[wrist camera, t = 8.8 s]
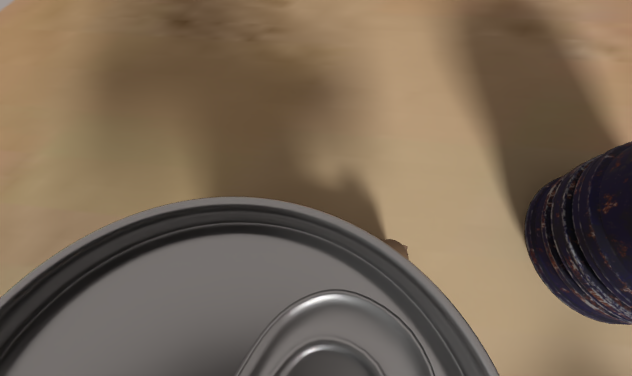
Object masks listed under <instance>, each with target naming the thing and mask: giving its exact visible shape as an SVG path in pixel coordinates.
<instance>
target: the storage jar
mask: <svg viewBox="0 0 632 376" xmlns="http://www.w3.org/2000/svg"><path fill="white" fill-rule="evenodd" d="M525 238H526V245H527V249H528V252H529V256H530V259H531V261H532V263H533V265H534V267H535V269H536V271H537V273H538V274H539V276H540V278H541V279H542V281H543V282H544V283H545V284H546V286H547V287H548V288H549V289H550V291H551V292H552V293H553V294H554V295H555V296H556V297H558V298H559V299H560V300H561V301H562V302H563V303H565V304H566V305H567V306H569V307H570V308H571V309H573V310H575V311H576V312H578V313H580V314H582V315H584V316H586V317H588V318H591V319H594V320H596V321H600V322H605V323H609V324H627V325H631V324H632V142H628V143H626V144H624V145H621V146H618V147H615V148H613V149H611V150H609V151H607V152H606V153H604V154H601V155H599V156H597V157H595V158H593V159H590V160H589V161H587V162H585V163H583V164H581V165H579V166H577V167H576V168H574V169H573V170H572V171H570V172H569V173H567V174H566V175H564V176H562V177H560V178H557V179H555V180H553V181H551V182H550V183H548V184H547V185H545V186H544V187H543V188H542V189H541V190H540V191H539V192H538V193H537V194H536V195H535V197H534V198H533V200H532V202H531V203H530V206H529V208H528V211H527V215H526V220H525Z"/></svg>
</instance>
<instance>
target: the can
mask: <svg viewBox="0 0 632 376" xmlns="http://www.w3.org/2000/svg"><path fill="white" fill-rule="evenodd" d="M0 376H499V374H498V372H497V370H496V368H495V366H494V364H493V362H492V361H491V359H490V357H489V355H488V354H487V352H486V350H485V349H484V347H483V346H482V344H481V342H480V341H479V339H478V338H477V336H476V335H475V333H474V332H473V330H472V329H471V327H470V326H469V324H468V323H467V322H466V320H465V319H464V318H463V317H462V315H461V314H460V313H459V311H458V310H457V309H456V308H455V306H454V305H453V304H452V303H451V301H450V300H449V299H448V298H447V297H446V296H445V295H444V294H443V292H442V291H441V290H440V289H439V288H438V287H437V286H436V285H435V284H434V283H433V282H432V281H431V280H430V279H429V278H428V277H427V276H426V275H425V274H424V273H423V272H422V271H421V270H419V269H418V268H417V267H416V266H415V265H414V264H413V263H411V262H410V261H409V260H408V259H406V258H405V257H404V256H403V255H401V254H400V253H399V252H398V251H396V250H395V249H393V248H392V247H391V246H389V245H388V244H386V243H385V242H383V241H382V240H380V239H378V238H377V237H375V236H374V235H372V234H370V233H368V232H367V231H365V230H363V229H361V228H359V227H357V226H356V225H354V224H352V223H349V222H347V221H345V220H343V219H341V218H338V217H336V216H333V215H331V214H328V213H325V212H323V211H320V210H317V209H314V208H310V207H307V206H303V205H299V204H295V203H291V202H286V201H281V200H274V199H267V198H258V197H236V196H229V197H210V198H201V199H193V200H187V201H181V202H176V203H172V204H167V205H163V206H159V207H156V208H152V209H149V210H146V211H142V212H139V213H137V214H134V215H131V216H128V217H126V218H123V219H121V220H118V221H116V222H113V223H111V224H109V225H107V226H105V227H102V228H100V229H98V230H96V231H94V232H92V233H90V234H89V235H87V236H85V237H83V238H81V239H79V240H78V241H76V242H74V243H72V244H71V245H69V246H68V247H66V248H64V249H63V250H61V251H60V252H58V253H57V254H55V255H54V256H52V257H51V258H49V259H48V260H46V261H45V262H44V263H42V264H41V265H39V266H38V267H37V268H35V269H34V270H33V271H31V272H30V273H29V274H28V275H26V276H25V277H24V278H23V279H21V280H20V281H19V282H18V283H17V284H15V285H14V286H13V287H12V288H11V289H10V290H8V291H7V292H6V293H5V294H4V295H3V296H2V297H1V298H0Z"/></svg>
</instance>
